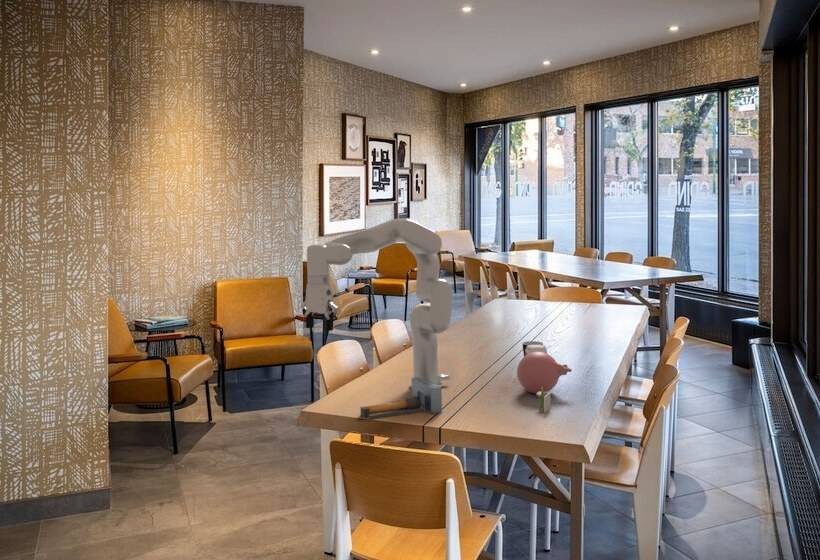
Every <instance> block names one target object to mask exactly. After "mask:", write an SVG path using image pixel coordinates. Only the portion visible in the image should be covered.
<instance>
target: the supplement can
mask: <svg viewBox="0 0 820 560" xmlns="http://www.w3.org/2000/svg"><path fill="white" fill-rule="evenodd" d="M532 352H544V353H546V354H548V349H547V348H546V345H545V344H543V345H540V344H531V345H527V348H526V350H525V356H526V355H527V354H529V353H532Z"/></svg>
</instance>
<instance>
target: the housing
mask: <svg viewBox="0 0 820 560" xmlns="http://www.w3.org/2000/svg"><path fill="white" fill-rule="evenodd" d="M410 381H411V382H412V388H411V397H415V396H419V397H420V399H421V407H423V406H424V408H425V411H424V412H427V413H429V414H430V415H434V414H440V413H442V412H443V405H442V404H443V401H442V399H443V398H442V396H443V395H442V394H443V392H442V387H441V386H439V385H437V384H435V383H433V382H431V381H429V380H427V379H425V378H423V377H416V378H414V377H411V380H410Z"/></svg>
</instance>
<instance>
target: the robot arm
mask: <svg viewBox="0 0 820 560" xmlns="http://www.w3.org/2000/svg"><path fill="white" fill-rule="evenodd" d="M396 243H405V247H406V248H407V250H409V252H411V254H412V255H413V256H414V258H415V260H416V264H417V267H416V269H417V270H416V282H415V283H416V284H415V296H416V298H417V299H418V300H419V301H422V302H425V303H429V305H425V304H420V305H417V306H415V307H413V309H412V310H411V313H410V315H409V324H410V328H411V334H412V363H413V364H412V365H413V378H416V377H423V378H425V379H427V380H429V381H431V382H433V383H435V384H437V385H439V386H441V388H442V387H443V383H442V382H443V381H449V380H451V376H450V374H446V375H445V374H439V348H438V347H439V341H438V336H437V334H443V333H444V332H446V331H447V330H448V328H449V327H450V324H451V320H452V309H453V308H452V307H453V293H454V292H453V288H452V285H451V284H450V282H448V281H447V280H445V279H443V278H440V268H441V267H440V259H439V255H438V253H439V252H440V251H441V249H442V246H443V242H442V238H441V236H440V235H439V233H437V232H436V231H434V230H432V229H430V228H429V227H426V226H424V225H423V224H420V223H419V222H417V221H415V220H413V219H410V218H393V219H389V220H387V221H385V222H382V223H379V224H377V225H374V226H372V227H368V228H367V229H363V230H359V231H357V232H353V233H349V234H345V235H343V236H339V237H337V238H334V239H332V240H330V241H329V240H328V241H327V242H325V243H323V244H311V245H310V244H309V245H308V246H307V247H306V265H307V266H306V268H307V283H306V288H305V300H304V301H303V302H301V303H300V307H301V308H302V309H301V310H302V313H303V315H304V317H305V328H306V329H311V328H314V327H315V325H314V323H315V322H314V321H315V320H314V314H320V315H321V314H324V316H325V318H326V319H325V331H326V332H329V331H330V332H331V331H333V330H334V319H335V318H336V316H337V313H338V311H339V306H337V305H336V304H335V301H334V291H333V287H332V284H330V282H331V278H330V265H334V266H344V265H347V264H348V263H350V261H351V260H352V258H353V256H354V255H357V254H368V253H374V252H377V251H379V250H382V249H383V248H386V247H388V246H391V245H394V244H396ZM409 388H410V389H412V381H411V382H410V383H409Z"/></svg>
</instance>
